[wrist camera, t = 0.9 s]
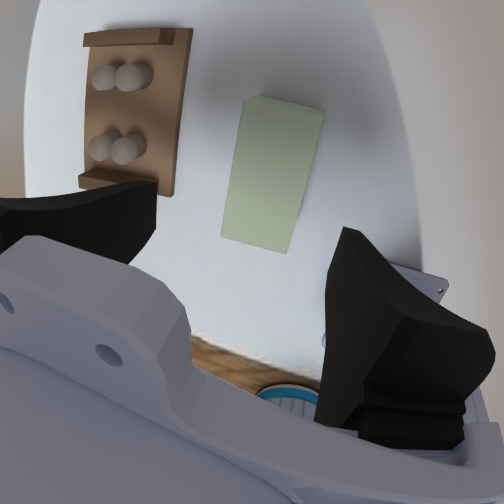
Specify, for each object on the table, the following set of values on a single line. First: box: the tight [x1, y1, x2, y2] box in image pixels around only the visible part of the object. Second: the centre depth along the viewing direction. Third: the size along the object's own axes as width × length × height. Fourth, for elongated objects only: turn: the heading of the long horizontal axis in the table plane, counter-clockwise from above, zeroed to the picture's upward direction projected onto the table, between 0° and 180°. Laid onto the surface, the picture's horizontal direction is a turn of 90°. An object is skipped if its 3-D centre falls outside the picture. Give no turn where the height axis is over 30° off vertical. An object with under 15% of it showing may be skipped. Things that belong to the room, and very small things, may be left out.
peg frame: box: [78, 28, 193, 197], centre depth 19 cm, size 12×8×3 cm, turn 170°
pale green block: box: [220, 96, 324, 255], centre depth 18 cm, size 8×4×4 cm, turn 169°
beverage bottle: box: [256, 384, 319, 421], centre depth 24 cm, size 8×8×20 cm
